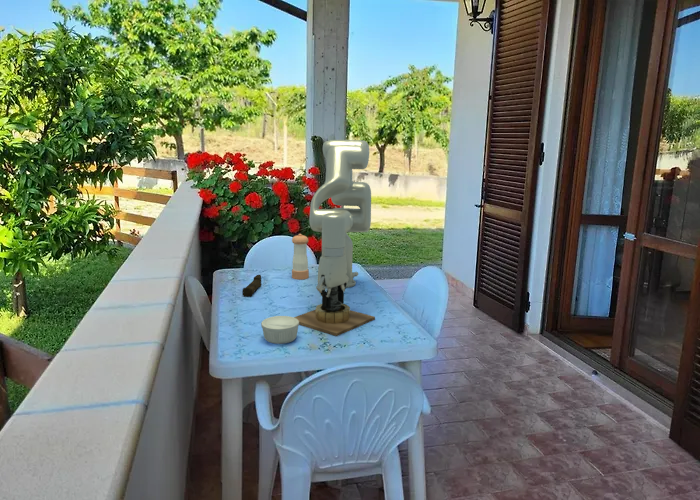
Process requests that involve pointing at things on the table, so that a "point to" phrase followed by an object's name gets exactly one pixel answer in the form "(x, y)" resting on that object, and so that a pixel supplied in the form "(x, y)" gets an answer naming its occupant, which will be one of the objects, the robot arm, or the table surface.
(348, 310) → the wooden ring
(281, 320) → the ramekin
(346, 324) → the wooden board
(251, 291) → the brown long rounded piece
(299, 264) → the pepper shaker
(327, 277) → the robot arm
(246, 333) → the table surface
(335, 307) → the stone chess piece
